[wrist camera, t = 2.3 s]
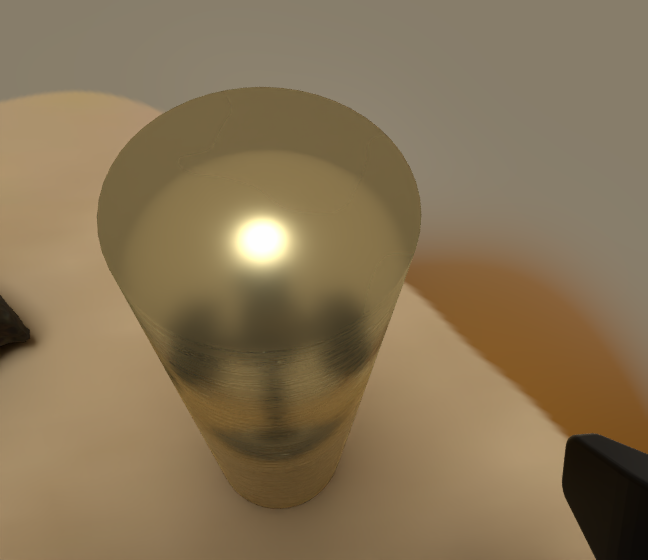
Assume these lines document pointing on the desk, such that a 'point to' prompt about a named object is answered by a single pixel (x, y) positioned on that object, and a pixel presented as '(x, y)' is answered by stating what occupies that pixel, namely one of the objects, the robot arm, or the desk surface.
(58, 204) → the desk surface
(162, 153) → the brass hinge pin
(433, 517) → the desk surface
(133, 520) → the desk surface
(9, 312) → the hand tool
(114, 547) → the desk surface
